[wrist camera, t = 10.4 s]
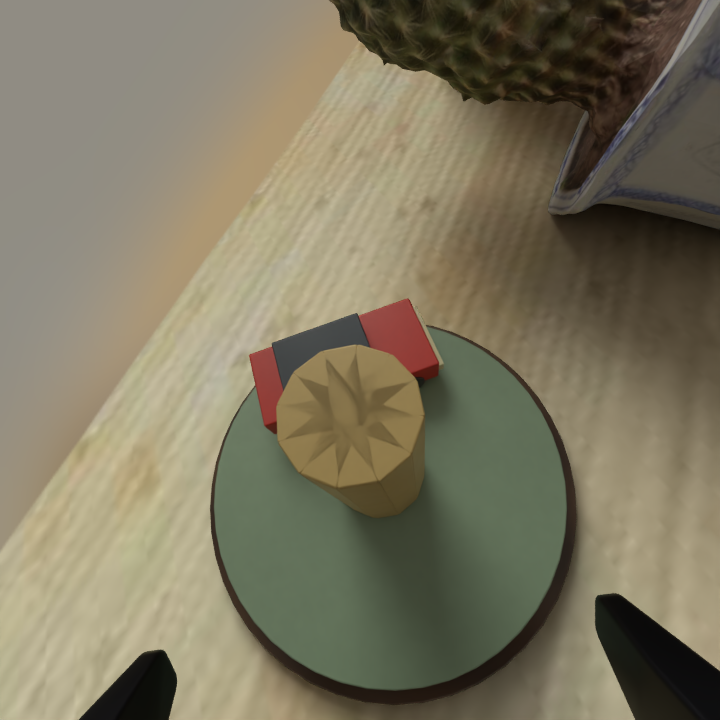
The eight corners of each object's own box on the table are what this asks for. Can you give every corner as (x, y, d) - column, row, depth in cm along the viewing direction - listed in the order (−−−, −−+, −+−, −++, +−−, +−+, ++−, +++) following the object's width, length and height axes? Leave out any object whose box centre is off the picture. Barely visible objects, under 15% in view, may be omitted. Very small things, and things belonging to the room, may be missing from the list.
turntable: (644, 603, 16) (904, 661, 7) (252, 749, 16) (44, 984, 7) (466, 290, 24) (491, 138, 15) (201, 385, 24) (70, 285, 15)
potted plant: (1217, -269, 14) (423, -478, 16) (1475, 50, 8) (198, -330, 10) (738, 143, 31) (377, 18, 33) (717, 343, 25) (281, 178, 27)
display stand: (530, 794, 15) (536, 806, 14) (152, 591, 20) (143, 592, 19) (595, 372, 22) (601, 366, 21) (300, 299, 27) (296, 292, 26)
